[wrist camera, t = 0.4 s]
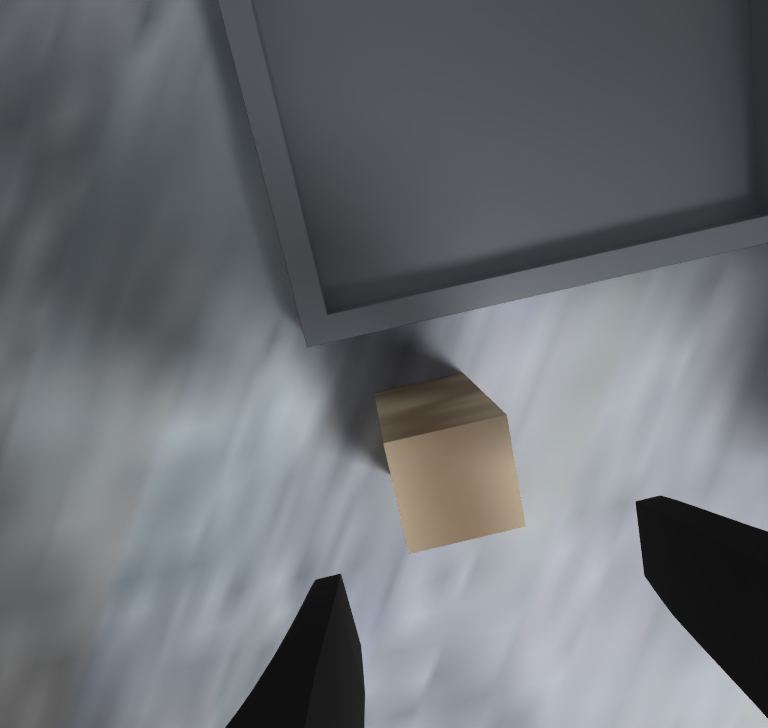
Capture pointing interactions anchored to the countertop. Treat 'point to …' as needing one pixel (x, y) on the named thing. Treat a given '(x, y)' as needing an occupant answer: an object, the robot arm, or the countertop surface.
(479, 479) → the maple block
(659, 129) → the tray
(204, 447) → the countertop surface
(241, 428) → the countertop surface
